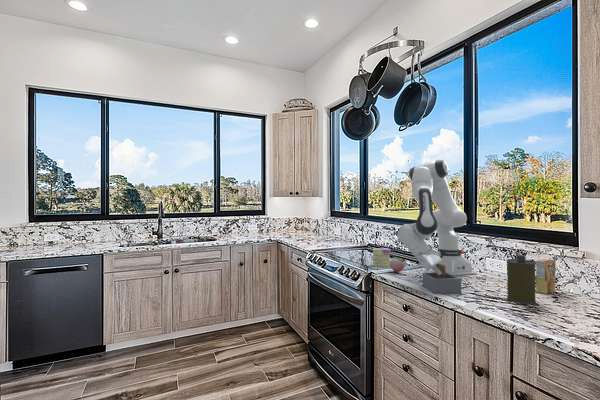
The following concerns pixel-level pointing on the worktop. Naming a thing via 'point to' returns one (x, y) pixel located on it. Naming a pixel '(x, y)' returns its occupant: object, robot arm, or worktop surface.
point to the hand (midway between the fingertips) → (442, 272)
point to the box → (381, 257)
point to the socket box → (442, 283)
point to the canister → (521, 280)
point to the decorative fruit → (397, 264)
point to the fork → (410, 263)
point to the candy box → (545, 276)
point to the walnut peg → (442, 268)
